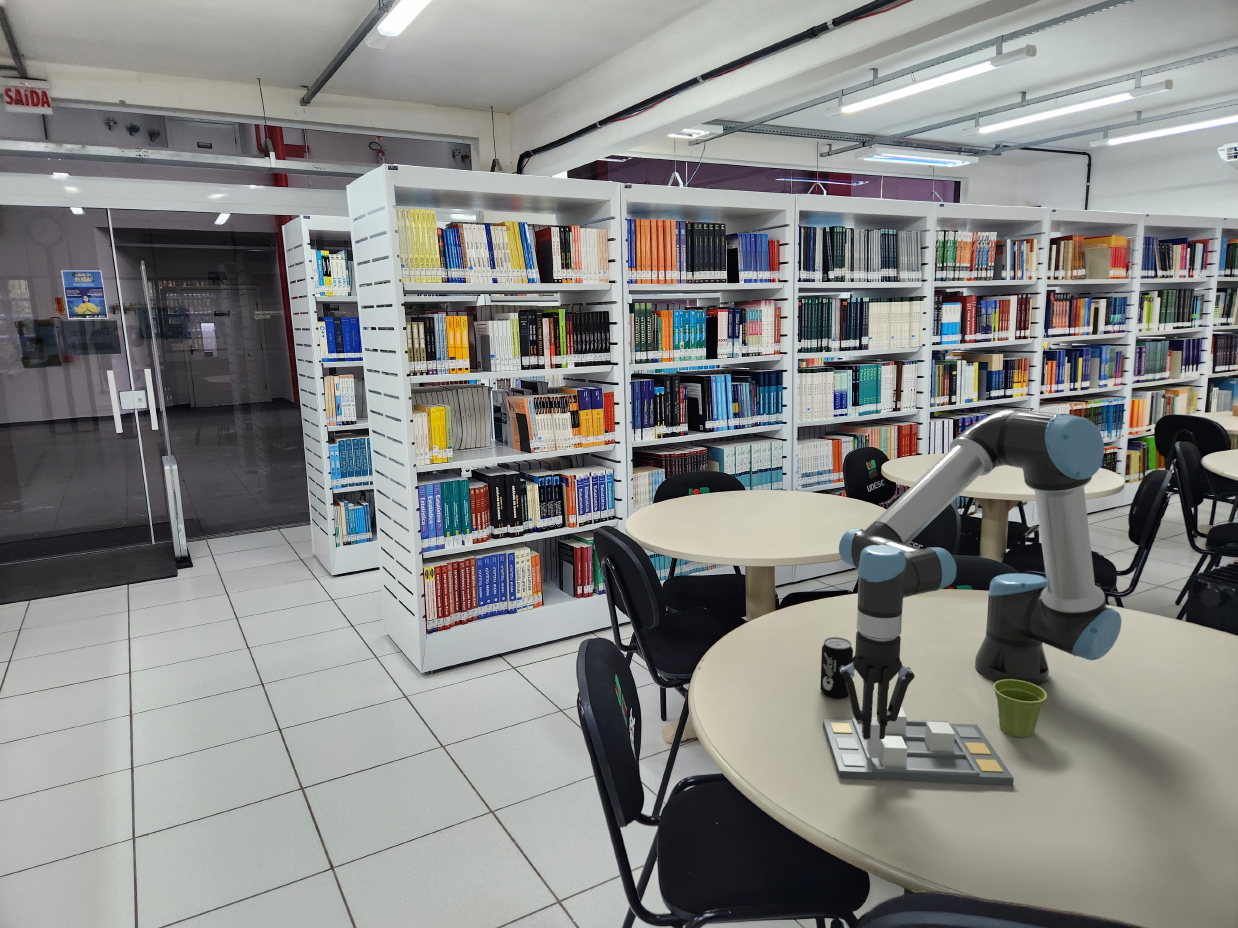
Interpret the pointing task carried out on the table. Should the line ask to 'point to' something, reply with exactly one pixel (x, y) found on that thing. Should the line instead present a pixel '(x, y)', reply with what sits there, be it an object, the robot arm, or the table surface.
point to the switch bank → (918, 756)
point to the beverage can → (835, 666)
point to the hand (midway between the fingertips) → (872, 753)
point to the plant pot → (1018, 706)
